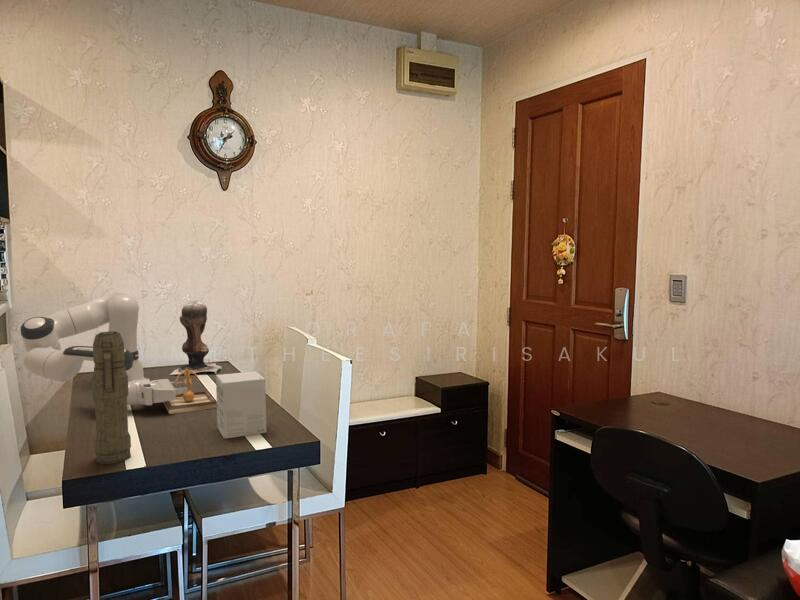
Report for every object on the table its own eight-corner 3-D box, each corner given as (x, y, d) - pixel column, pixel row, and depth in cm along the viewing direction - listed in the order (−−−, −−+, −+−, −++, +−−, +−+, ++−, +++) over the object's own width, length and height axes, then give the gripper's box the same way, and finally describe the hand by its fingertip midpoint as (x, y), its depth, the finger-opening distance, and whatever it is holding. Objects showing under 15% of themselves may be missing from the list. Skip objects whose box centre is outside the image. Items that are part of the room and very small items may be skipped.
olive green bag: (96, 468, 150) (90, 336, 147) (94, 454, 160) (88, 331, 157) (133, 462, 154) (128, 334, 151) (129, 448, 164) (124, 329, 161)
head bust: (225, 362, 288) (220, 294, 281) (218, 378, 263) (213, 304, 257) (179, 365, 284) (174, 296, 278) (168, 381, 260) (162, 306, 253)
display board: (162, 402, 215) (162, 395, 215) (206, 396, 223) (206, 390, 223) (169, 414, 199) (168, 407, 199) (216, 408, 207) (215, 401, 207)
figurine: (177, 404, 206) (176, 371, 205) (175, 400, 212) (174, 368, 211) (201, 401, 210) (200, 369, 209) (198, 397, 216) (197, 366, 215)
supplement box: (257, 421, 191) (256, 370, 189) (267, 433, 179) (266, 378, 178) (216, 427, 185) (215, 374, 183) (223, 439, 173) (222, 382, 172)
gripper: (142, 393, 212) (181, 389, 219) (147, 406, 194) (190, 401, 201) (141, 377, 212) (181, 373, 218) (147, 388, 194) (189, 384, 201)
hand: (185, 386), depth 210 cm, fingers open, 8 cm apart
